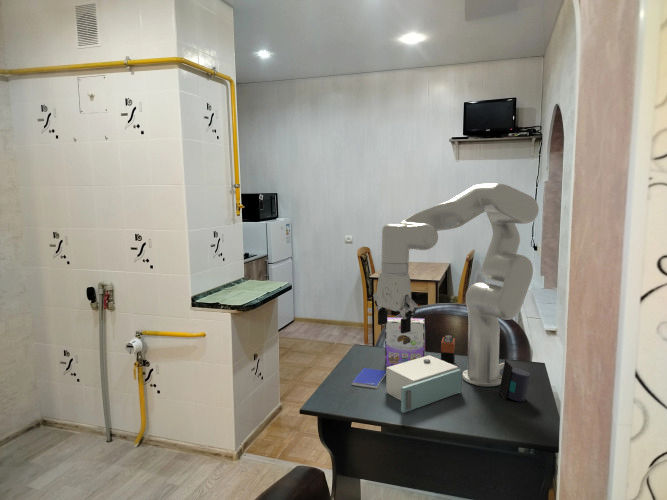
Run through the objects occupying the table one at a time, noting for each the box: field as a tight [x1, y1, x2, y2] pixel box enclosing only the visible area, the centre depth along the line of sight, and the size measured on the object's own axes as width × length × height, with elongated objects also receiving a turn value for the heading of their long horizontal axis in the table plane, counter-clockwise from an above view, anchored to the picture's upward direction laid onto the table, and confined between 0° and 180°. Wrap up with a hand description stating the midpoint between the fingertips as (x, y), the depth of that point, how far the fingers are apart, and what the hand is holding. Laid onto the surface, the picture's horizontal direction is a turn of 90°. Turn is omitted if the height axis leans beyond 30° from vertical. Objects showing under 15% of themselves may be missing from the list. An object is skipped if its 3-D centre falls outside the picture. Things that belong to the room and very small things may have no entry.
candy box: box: [384, 316, 426, 367], centre depth 159 cm, size 14×6×16 cm, turn 77°
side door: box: [400, 368, 463, 414], centre depth 130 cm, size 24×2×7 cm, turn 123°
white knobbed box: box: [385, 354, 459, 401], centre depth 137 cm, size 19×12×9 cm, turn 123°
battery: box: [440, 334, 456, 365], centre depth 159 cm, size 4×7×10 cm, turn 162°
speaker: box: [498, 359, 531, 403], centre depth 132 cm, size 8×6×10 cm
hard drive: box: [351, 367, 386, 389], centre depth 148 cm, size 2×8×12 cm
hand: (393, 328), depth 128 cm, fingers open, 9 cm apart
